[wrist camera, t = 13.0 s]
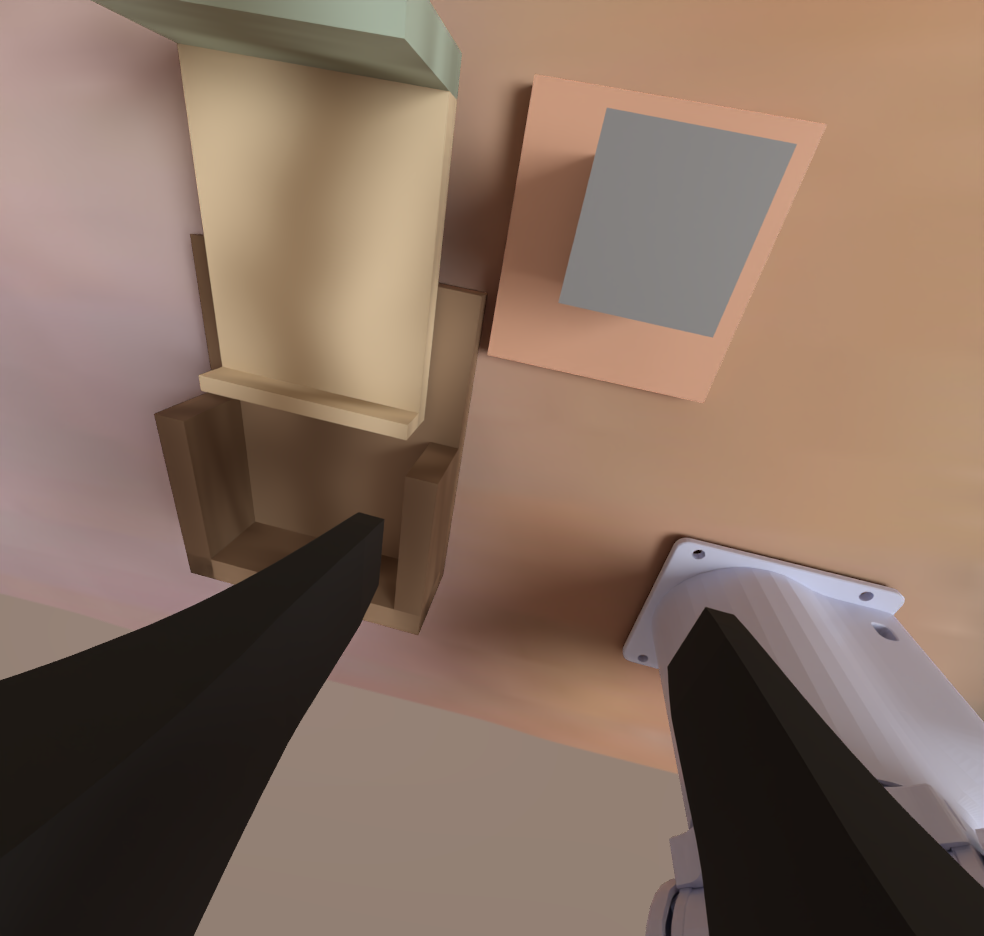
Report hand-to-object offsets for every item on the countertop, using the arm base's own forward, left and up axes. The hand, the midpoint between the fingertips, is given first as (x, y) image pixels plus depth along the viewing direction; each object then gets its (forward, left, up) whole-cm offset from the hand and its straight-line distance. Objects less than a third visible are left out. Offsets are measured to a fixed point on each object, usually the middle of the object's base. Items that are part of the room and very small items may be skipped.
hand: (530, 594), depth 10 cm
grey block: (-1, -7, -9) cm, 11 cm away
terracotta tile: (-1, -7, -9) cm, 12 cm away
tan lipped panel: (+9, -5, -8) cm, 13 cm away
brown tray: (+9, +2, -9) cm, 13 cm away
